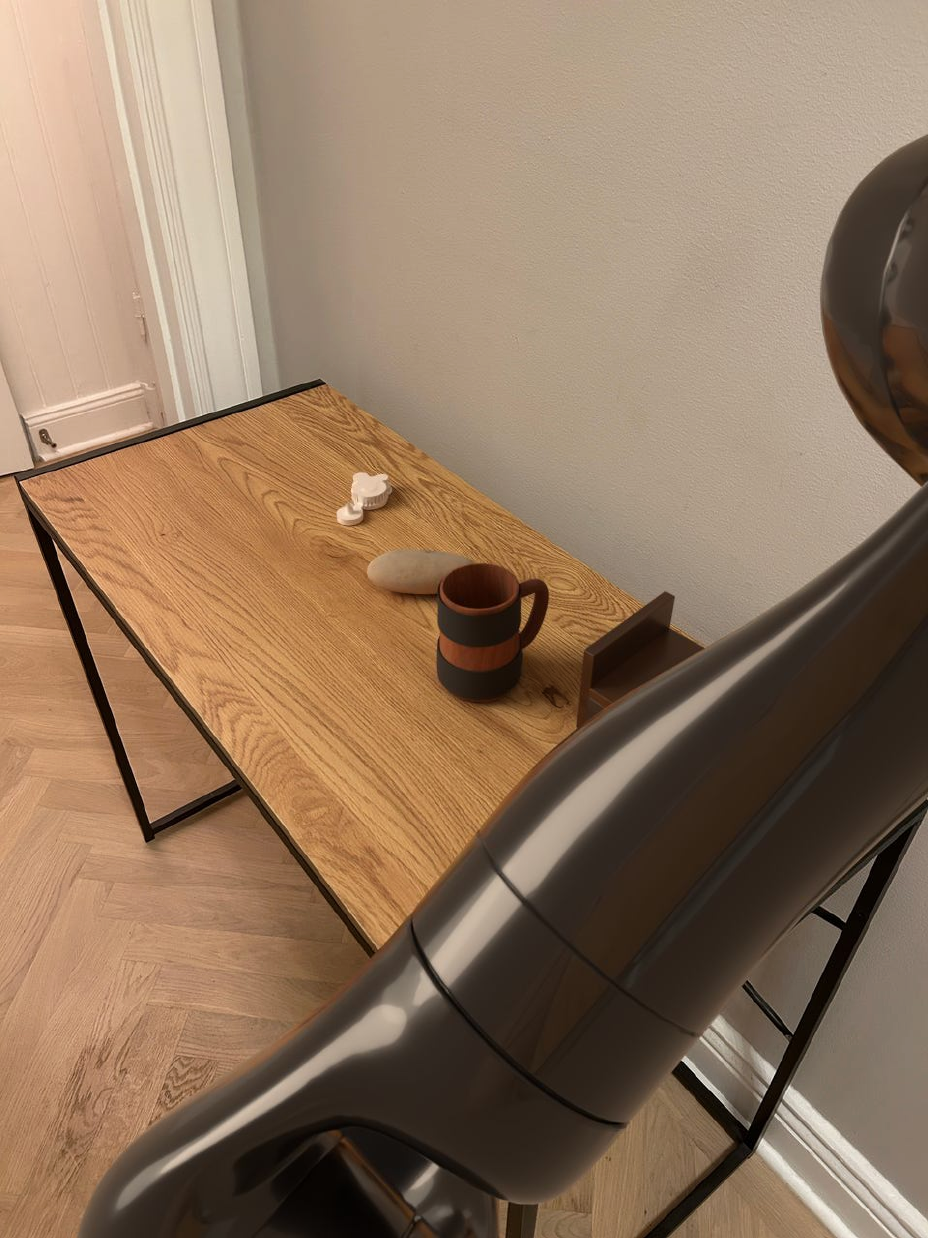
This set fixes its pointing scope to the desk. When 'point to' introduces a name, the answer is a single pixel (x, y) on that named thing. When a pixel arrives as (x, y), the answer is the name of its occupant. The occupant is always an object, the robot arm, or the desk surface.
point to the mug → (485, 630)
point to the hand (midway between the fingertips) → (539, 971)
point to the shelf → (631, 656)
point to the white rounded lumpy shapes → (364, 497)
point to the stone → (413, 570)
